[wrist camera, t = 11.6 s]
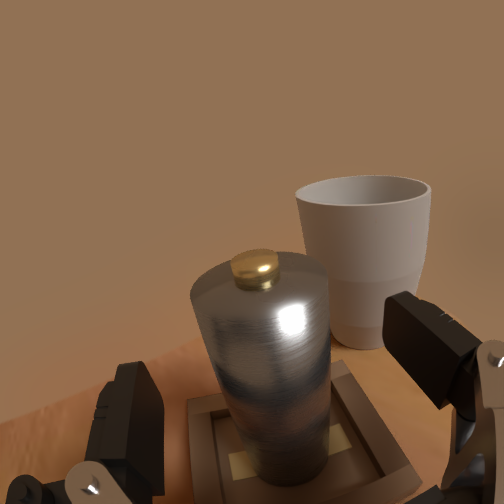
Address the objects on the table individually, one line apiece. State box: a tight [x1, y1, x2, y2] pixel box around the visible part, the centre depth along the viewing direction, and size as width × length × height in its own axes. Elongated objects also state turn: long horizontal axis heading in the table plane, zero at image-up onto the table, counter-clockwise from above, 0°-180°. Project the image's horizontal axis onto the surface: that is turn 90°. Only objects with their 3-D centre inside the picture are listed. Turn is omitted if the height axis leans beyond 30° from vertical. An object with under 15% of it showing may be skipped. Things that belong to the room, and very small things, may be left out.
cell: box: [190, 249, 331, 487], centre depth 9 cm, size 4×4×10 cm
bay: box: [187, 360, 423, 504], centre depth 11 cm, size 9×9×1 cm
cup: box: [295, 175, 431, 350], centre depth 18 cm, size 8×8×10 cm
